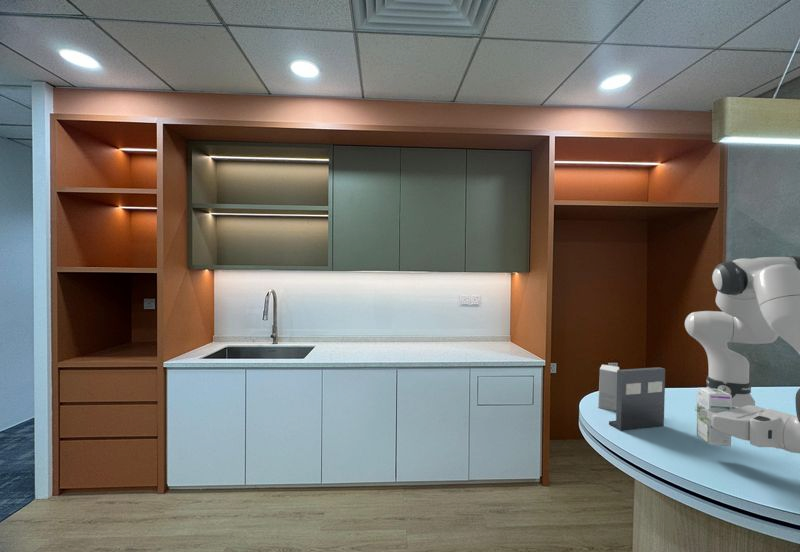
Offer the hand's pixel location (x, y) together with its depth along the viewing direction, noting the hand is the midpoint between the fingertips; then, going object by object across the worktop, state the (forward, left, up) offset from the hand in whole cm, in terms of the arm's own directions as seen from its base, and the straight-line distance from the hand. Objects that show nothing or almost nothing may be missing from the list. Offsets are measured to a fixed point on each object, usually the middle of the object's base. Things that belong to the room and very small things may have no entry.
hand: (710, 409), depth 103 cm
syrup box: (0, +1, -9) cm, 9 cm away
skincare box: (-18, -34, -14) cm, 41 cm away
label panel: (-7, -21, -14) cm, 26 cm away
